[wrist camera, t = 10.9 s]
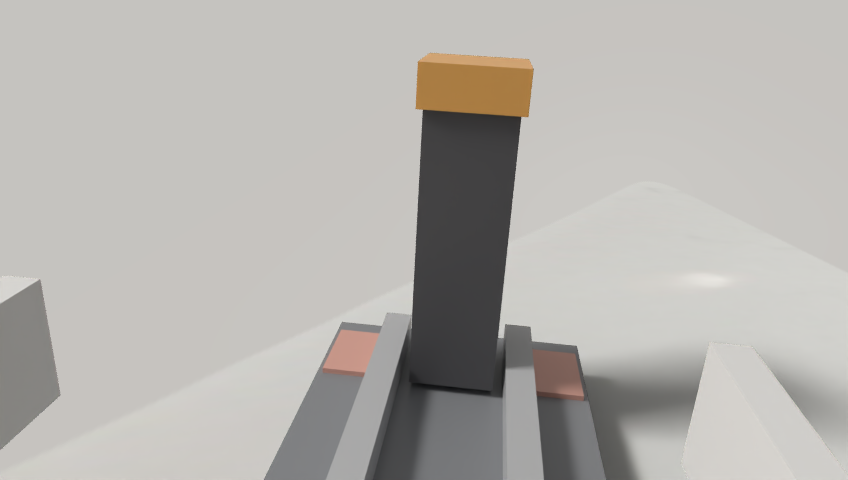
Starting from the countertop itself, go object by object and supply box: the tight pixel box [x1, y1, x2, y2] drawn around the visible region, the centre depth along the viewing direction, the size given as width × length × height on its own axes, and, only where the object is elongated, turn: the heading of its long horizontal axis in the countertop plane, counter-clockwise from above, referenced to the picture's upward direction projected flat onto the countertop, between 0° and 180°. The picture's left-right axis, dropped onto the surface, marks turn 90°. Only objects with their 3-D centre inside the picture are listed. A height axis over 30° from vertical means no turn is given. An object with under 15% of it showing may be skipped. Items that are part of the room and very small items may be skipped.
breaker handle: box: [409, 53, 534, 391], centre depth 22 cm, size 3×3×11 cm
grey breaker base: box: [264, 313, 606, 480], centre depth 20 cm, size 10×16×3 cm, turn 174°
